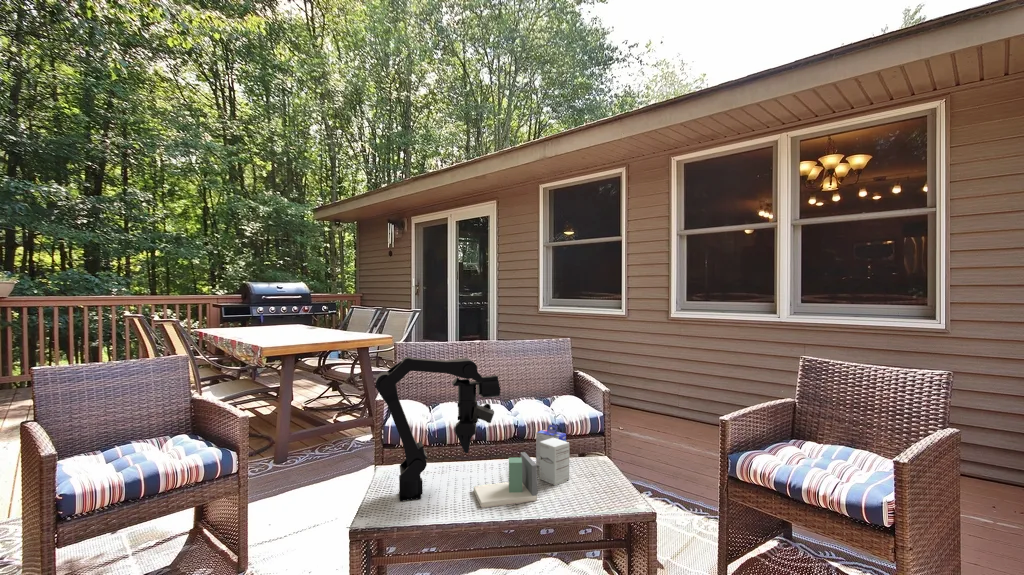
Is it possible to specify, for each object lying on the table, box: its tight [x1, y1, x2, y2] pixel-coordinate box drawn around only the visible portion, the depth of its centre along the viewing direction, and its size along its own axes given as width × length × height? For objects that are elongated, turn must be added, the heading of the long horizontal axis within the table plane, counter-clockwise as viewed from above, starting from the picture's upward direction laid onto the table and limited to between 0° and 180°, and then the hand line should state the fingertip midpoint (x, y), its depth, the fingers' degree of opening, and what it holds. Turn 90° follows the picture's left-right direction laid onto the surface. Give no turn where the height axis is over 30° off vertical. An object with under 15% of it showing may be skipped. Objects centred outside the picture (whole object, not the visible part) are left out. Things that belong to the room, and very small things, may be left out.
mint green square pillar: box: [508, 456, 522, 493], centre depth 145 cm, size 4×4×9 cm
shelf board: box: [473, 451, 538, 509], centre depth 144 cm, size 17×12×10 cm
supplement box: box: [539, 438, 570, 486], centre depth 156 cm, size 7×7×13 cm
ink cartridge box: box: [535, 424, 567, 467], centre depth 167 cm, size 10×6×14 cm, turn 53°
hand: (467, 447), depth 149 cm, fingers open, 9 cm apart
